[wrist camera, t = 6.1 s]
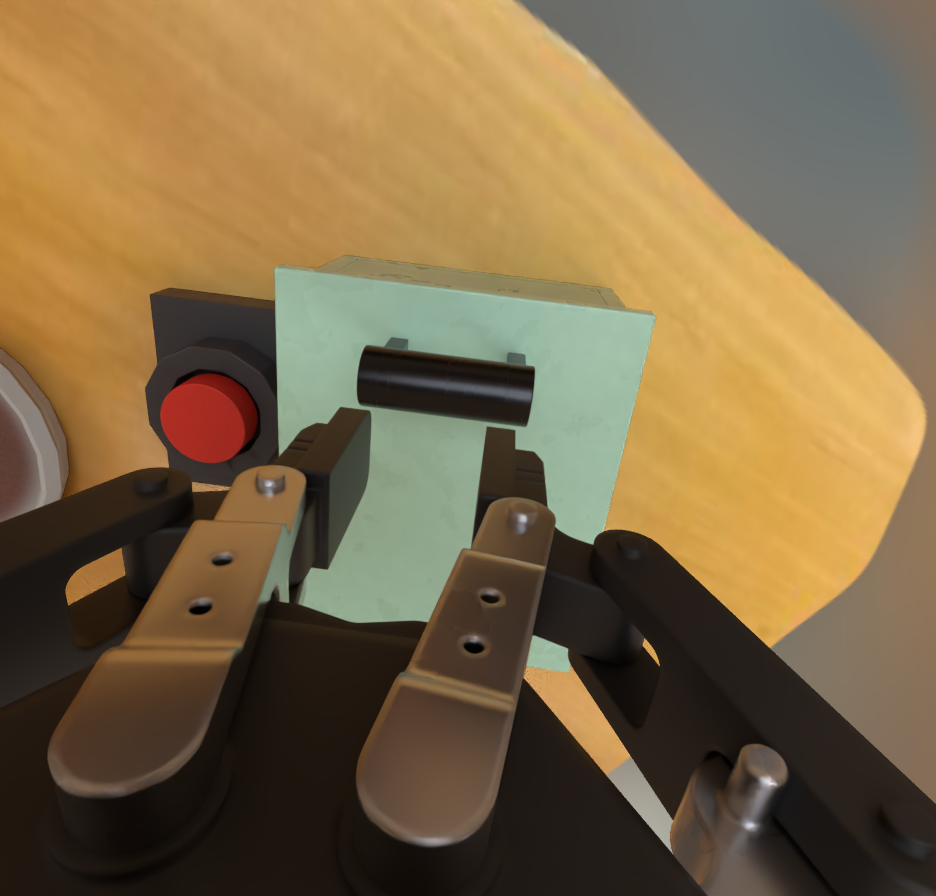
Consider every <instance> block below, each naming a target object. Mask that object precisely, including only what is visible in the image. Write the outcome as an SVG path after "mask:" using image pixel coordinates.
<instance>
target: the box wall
mask: <svg viewBox="0 0 936 896" xmlns="http://www.w3.org/2000/svg"><path fill="white" fill-rule="evenodd" d="M317 269H324V270H331V271H339V272H347V273H355V274H363V275H371V276H379V277H387V278H395V279H402V280H410V281H418V282H426V283H434V284H442V285H450V286H458V287H465V288H473V289H481V290H489V291H497V292H505V293H513V294H521V295H528V296H536V297H544V298H552V299H560V300H568V301H576V302H584V303H592V304H599V305H607V306H615V307H623V308H627V307H626V306H625V305H624V304H623V302H622V301H621V300H620V299H619V297H618V296H617V295H616V294H615V293H614V291H613V290H612V289H610V288H602V287H594V286H586V285H578V284H570V283H562V282H555V281H547V280H539V279H531V278H523V277H515V276H507V275H499V274H491V273H483V272H475V271H467V270H460V269H452V268H444V267H436V266H428V265H420V264H412V263H404V262H396V261H388V260H380V259H372V258H365V257H357V256H349V255H344V256H342V257H340V258H338V259H336V260H334V261H332V262H330V263H327V264H325V265H323V266H321V267H319V268H317Z"/></svg>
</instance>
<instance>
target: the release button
mask: <svg viewBox="0 0 936 896" xmlns="http://www.w3.org/2000/svg"><path fill="white" fill-rule="evenodd" d="M160 417H161V424H162V427H163V430H164V432H165V435H166V436H167V438H168V439H169V441H170V442H171V443H172V445H173V446H174V447H175V448H176V449H178V450H179V451H180V452H181V453H183V454H184V455H186V456H187V457H189V458H191V459H194V460H196V461H200V462H204V463H219V462H223V461H226V460H229V459H231V458H232V457H234V456H235V455H236V454H237V453H238V452H239V451H240V450H241V449H242V448H243V447H244V446H245V445H246V444H247V443H248V442H249V441H250V440H251V439H252V437H253V436H254V434H255V432H256V429H257V424H258V415H257V410H256V407H255V404H254V402H253V400H252V398H251V397H250V395H249V394H248V392H247V391H246V390H245V389H244V388H243V387H242V386H241V385H239V384H238V383H237V382H235V381H234V380H232V379H230V378H228V377H225V376H222V375H218V374H211V373H207V374H200V375H196V376H194V377H192V378H190V379H189V380H187V381H185V382H184V383H182V384H181V385H179V386H177V387H176V388H174V389H173V390H172V391H170V392H169V393H168V395H167V396H166V397H165V399H164V401H163V403H162V407H161V413H160Z"/></svg>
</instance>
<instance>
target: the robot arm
mask: <svg viewBox="0 0 936 896" xmlns="http://www.w3.org/2000/svg"><path fill="white" fill-rule="evenodd" d="M371 421H372V419H371V412H370V411H369V410H362V409H355V408H347V407H340V408H339V409H338V410H337V412H336V413H335V414H334V416H333V417H332V418H331V420H330V421H329V422H328V424H324V423H315V424H313V425H310V426H308V427H306V428H304V429H302V430H301V431H300V432H299V433H298V435H297V436H296V437H295V438H294V441H292V442H291V443H290V444H289V445H288V447H287V449H285V450H284V451H283V453H282V454H281V455H280V456H279V457H278V459H277V460H276V461H275V462H274V463H273V465H267V466H259V467H255V468H251V469H248V470H246V471H244V472H242V473H241V474H239V475H238V476H237V477H236V479H235V480H234V482H233V484H232V486H231V488H230V490H227V491H209V492H192V481H191V478H190V476H189V475H188V474H187V473H185V472H183V471H181V470H178V469H173V468H161V467H160V468H147V469H141V470H137V471H133V472H130V473H128V474H125V475H122V476H120V477H117V478H115V479H112V480H109V481H107V482H104V483H102V484H99V485H96V486H94V487H91V488H89V489H86V490H83V491H81V492H78V493H76V494H73V495H70V496H68V497H65V498H63V499H60V500H57V501H55V502H52V503H50V504H47V505H44V506H42V507H39V508H37V509H34V510H31V511H29V512H26V513H24V514H21V515H18V516H16V517H13V518H11V519H8V520H6V521H3V522H0V896H936V804H935V803H934V802H933V801H932V800H931V799H929V798H928V796H927V795H925V794H924V793H923V792H922V791H921V790H920V789H919V788H918V787H917V786H916V785H915V784H914V783H913V782H912V781H911V780H910V779H908V778H907V777H906V776H905V775H904V774H903V773H902V772H901V771H900V770H899V769H898V768H897V767H896V766H895V765H894V764H892V763H891V762H890V761H889V760H888V759H887V758H886V757H885V756H884V755H883V754H882V753H881V752H880V751H879V750H877V749H876V748H875V747H874V746H873V745H872V744H871V743H870V742H869V741H868V740H867V739H866V738H865V737H864V736H863V735H861V734H860V733H859V732H858V731H857V730H856V729H855V728H854V727H853V726H852V725H851V724H850V723H849V722H848V721H846V720H845V718H843V717H842V716H841V715H840V714H839V713H838V712H837V711H836V710H835V709H834V708H833V707H832V706H831V705H830V704H828V703H827V702H826V701H825V700H824V699H823V698H822V697H821V696H820V695H819V694H818V693H817V692H816V691H815V690H814V689H812V688H811V687H810V686H809V685H808V684H807V683H806V682H805V681H804V680H803V679H802V678H801V677H800V676H799V675H798V674H797V673H796V672H794V671H793V670H792V669H791V668H790V667H789V666H788V665H787V664H786V663H785V662H784V661H783V660H782V659H781V658H779V657H778V656H777V655H776V654H775V653H774V652H773V651H772V650H771V649H770V648H769V647H768V646H767V645H766V644H765V643H764V642H762V641H761V640H760V639H759V638H758V637H757V636H756V635H755V634H754V633H753V632H752V631H751V630H750V629H749V628H748V627H746V626H745V625H744V624H743V623H742V622H741V621H740V620H739V619H738V618H737V617H736V616H735V615H734V614H733V613H732V612H730V611H729V610H728V609H727V608H726V607H725V606H724V605H723V604H722V603H721V602H720V601H719V600H718V599H717V598H716V597H715V596H713V595H712V594H711V593H710V592H709V591H708V590H707V589H706V588H705V587H704V586H703V585H702V584H701V583H700V582H699V581H697V580H696V579H695V578H694V577H693V576H692V575H691V574H690V573H689V572H688V571H687V570H686V569H685V568H684V567H683V566H681V565H680V564H679V563H678V562H677V561H676V560H675V559H674V558H673V557H672V556H671V555H670V554H669V553H668V552H667V551H665V550H664V549H663V548H662V547H661V546H660V545H659V544H658V543H656V542H655V541H653V540H652V539H650V538H648V537H646V536H644V535H641V534H638V533H635V532H631V531H626V530H608V531H604V532H602V533H600V534H598V535H597V536H596V538H595V540H594V543H593V544H590V543H586V542H583V541H580V540H578V539H575V538H572V537H570V536H568V535H566V534H565V533H563V532H561V531H560V530H559V529H557V528H556V527H555V524H556V518H555V515H554V513H553V512H552V511H551V510H550V509H549V508H548V504H547V494H546V483H545V475H544V473H545V472H544V462H543V461H542V460H541V459H540V457H539V456H538V455H537V454H536V453H535V452H534V451H526V450H519V449H515V436H516V431H515V430H512V429H505V428H497V427H490V426H487V428H486V435H485V442H484V450H483V457H482V464H481V472H480V479H479V487H478V494H477V502H476V510H475V518H474V526H473V535H472V543H471V548H470V549H468V548H462V550H461V551H460V553H459V556H458V558H457V560H456V562H455V564H454V567H453V569H452V571H451V573H450V575H449V578H448V580H447V582H446V584H445V586H444V588H443V591H442V593H441V595H440V597H439V599H438V602H437V604H436V606H435V608H434V610H433V613H432V615H431V617H430V619H429V621H428V622H423V621H416V620H413V621H389V622H366V623H354V622H349V621H346V620H343V619H340V618H337V617H334V616H332V615H329V614H326V613H323V612H320V611H317V610H314V609H311V608H309V607H306V606H303V603H304V598H305V594H306V576H307V574H308V573H309V571H310V569H311V568H318V569H325V570H328V568H329V566H330V564H331V562H332V560H333V558H334V556H335V554H336V551H337V549H338V547H339V545H340V543H341V541H342V539H343V537H344V535H345V532H346V530H347V528H348V526H349V524H350V522H351V520H352V518H353V516H354V513H355V511H356V509H357V507H358V505H359V503H360V501H361V499H362V497H363V494H364V492H365V489H366V486H367V481H368V476H369V464H370V443H371ZM121 547H122V553H123V560H124V566H125V572H126V575H125V576H123V577H121V578H119V579H117V580H116V581H114V582H112V583H110V584H108V585H106V586H104V587H102V588H100V589H99V590H97V591H95V592H93V593H91V594H89V595H87V596H85V597H84V598H82V599H80V600H78V601H76V602H74V603H72V604H70V605H68V603H67V599H66V593H65V590H66V585H67V583H68V581H69V579H70V577H71V576H72V575H73V574H74V573H75V572H76V571H77V570H78V569H80V568H81V567H83V566H85V565H87V564H89V563H91V562H93V561H95V560H97V559H99V558H101V557H103V556H105V555H107V554H109V553H111V552H113V551H115V550H117V549H119V548H121ZM533 635H534V636H537V637H539V638H542V639H545V640H547V641H550V642H552V643H555V644H557V645H560V646H562V647H565V648H568V659H569V662H570V664H571V666H572V667H573V669H574V670H575V672H576V673H577V675H578V676H579V678H580V679H581V681H582V683H583V684H584V686H585V687H586V689H587V690H588V692H589V693H590V695H591V696H592V698H593V699H594V701H595V702H596V704H597V705H598V707H599V708H600V710H601V711H602V713H603V714H604V716H605V718H606V719H607V721H608V722H609V724H610V725H611V727H612V728H613V730H614V731H615V733H616V734H617V736H618V737H619V739H620V740H621V742H622V743H623V745H624V746H625V748H626V750H627V751H628V753H629V754H630V756H631V757H632V759H633V760H634V762H635V763H636V764H637V766H638V768H639V769H640V771H641V772H642V774H643V775H644V777H645V778H646V780H647V781H648V783H649V785H650V786H651V787H652V789H653V791H654V792H655V794H656V795H657V797H658V798H659V800H660V801H661V803H662V804H663V806H664V807H665V809H666V810H667V812H668V813H669V815H670V817H671V818H672V820H673V823H672V826H671V831H670V842H671V849H672V852H673V854H672V853H671V851H670V850H669V849H668V848H667V847H666V846H665V844H664V843H663V842H662V841H661V840H660V838H659V837H658V836H657V835H656V834H655V833H654V831H653V830H652V829H651V828H650V827H649V825H647V823H646V822H645V821H644V820H643V818H642V817H641V816H640V815H639V814H638V812H637V811H636V810H635V809H634V808H633V807H632V805H631V804H630V803H629V802H628V801H627V799H626V798H625V797H624V796H623V795H622V793H621V792H620V791H619V790H618V789H617V788H616V787H615V785H614V784H613V783H612V782H611V780H610V779H609V778H608V777H607V776H606V775H605V773H604V772H603V771H602V770H601V769H600V767H599V766H598V765H597V764H596V763H595V761H594V760H593V759H592V758H591V757H590V756H589V754H588V753H587V752H586V751H585V750H584V748H583V747H582V746H581V745H580V744H579V743H578V741H577V740H576V739H575V738H574V737H573V735H572V734H571V733H570V732H569V731H568V730H567V728H566V727H565V726H564V725H563V724H562V722H561V721H560V720H559V719H558V718H557V716H556V715H555V714H554V713H553V712H552V711H551V709H550V708H549V707H548V706H547V705H546V703H545V702H544V701H543V700H542V699H541V698H540V696H539V695H538V694H537V693H536V692H535V690H534V689H533V688H532V687H531V686H530V685H529V683H528V682H527V681H526V680H525V679H524V675H525V670H526V665H527V660H528V656H529V651H530V646H531V641H532V637H533ZM644 638H645V639H646V640H647V641H648V642H649V643H650V645H651V646H652V647H653V649H654V650H655V652H656V654H657V657H658V659H659V663H660V666H659V665H658V664H657V663H656V662H655V660H654V659H653V658H652V657H651V655H650V654H649V653H648V652H647V651H646V649H645V648H644V647H643V646H642V645H643V642H644Z"/></svg>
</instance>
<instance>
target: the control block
mask: <svg viewBox="0 0 936 896" xmlns="http://www.w3.org/2000/svg"><path fill="white" fill-rule="evenodd" d="M150 301H151V310H152V319H153V328H154V337H155V345H156V354H157V363H158V364H157V366H156V368H155V370H154V372H153V374H152V376H151V378H150V380H149V382H148V384H147V386H146V387H145V389H146V390H145V392H146V400H147V409H148V417H149V422H150V423H149V424H150V426H151V427H152V428H153V430H154V431H155V433H156V434H157V436H158V437H159V439H160V440H161V442H162V443H163V444H164V446H165V447H166V449H167V452H168V461H169V468H173V469H178V470H181V471H183V472H185V473H187V474H188V475H189V476H190V478H191V481H192V482H198V483H205V484H213V485H220V486H228V487H231V486H232V484H233V482H234V480H235V479H236V477H237V476H238V475H239V474H241V473H242V472H244V471H246V470H248V469H251V468H255V467H259V466H267V465H273V463H274V462H275V461H276V460H277V459H278V457H279V440H278V400H277V360H276V320H275V301H270V300H262V299H254V298H246V297H239V296H231V295H223V294H215V293H207V292H200V291H192V290H184V289H176V288H167V289H164V290H161V291H158V292H155V293H152V294H150ZM207 373H211V374H218V375H222V376H225V377H228V378H230V379H232V380H234V381H235V382H237V383H238V384H239V385H241V386H242V387H243V388H244V389H245V390H246V391H247V392H248V394H249V395H250V397H251V398H252V400H253V402H254V404H255V407H256V410H257V415H258V424H257V429H256V432H255V434H254V436H253V437H252V439H251V440H250V441H249V442H248V443H247V444H246V445H245V446H244V447H243V448H242V449H241V450H240V451H239V452H238V453H237V454H236V455H235V456H234V457H232V458H231V459H229V460H226V461H223V462H219V463H204V462H200V461H196V460H194V459H191V458H189V457H187V456H186V455H184V454H183V453H181V452H180V451H179V450H178V449H176V448H175V447H174V446H173V445H172V443H171V442H170V441H169V439H168V438H167V436H166V435H165V432H164V430H163V427H162V424H161V417H160V413H161V407H162V403H163V401H164V399H165V397H166V396H167V395H168V393H169V392H170V391H172V390H173V389H174V388H176V387H177V386H179V385H181V384H182V383H184V382H185V381H187V380H189V379H190V378H192V377H194V376H196V375H200V374H207Z"/></svg>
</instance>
